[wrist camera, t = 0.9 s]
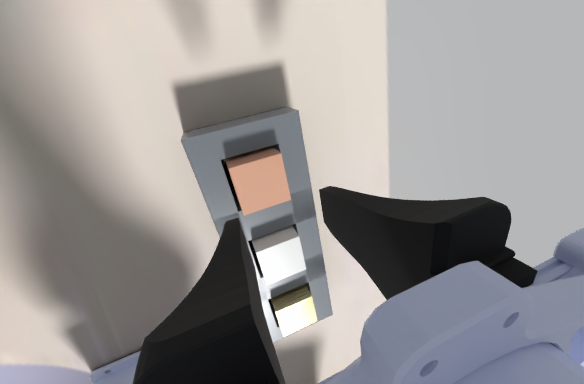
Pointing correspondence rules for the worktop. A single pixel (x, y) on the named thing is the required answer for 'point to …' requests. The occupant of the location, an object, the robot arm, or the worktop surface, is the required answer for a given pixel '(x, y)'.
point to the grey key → (279, 254)
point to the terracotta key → (259, 179)
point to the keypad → (297, 212)
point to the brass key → (294, 309)
